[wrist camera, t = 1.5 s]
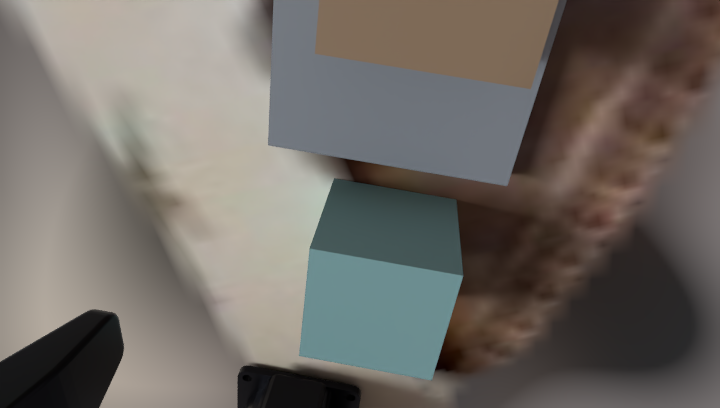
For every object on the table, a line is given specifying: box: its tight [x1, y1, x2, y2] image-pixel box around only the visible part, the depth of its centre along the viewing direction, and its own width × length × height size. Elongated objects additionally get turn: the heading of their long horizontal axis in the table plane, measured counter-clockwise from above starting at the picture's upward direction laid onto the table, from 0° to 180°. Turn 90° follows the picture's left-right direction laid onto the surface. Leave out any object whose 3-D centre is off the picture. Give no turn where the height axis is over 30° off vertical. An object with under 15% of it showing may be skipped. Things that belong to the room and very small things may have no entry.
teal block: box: [299, 178, 463, 380], centre depth 20 cm, size 5×5×5 cm
